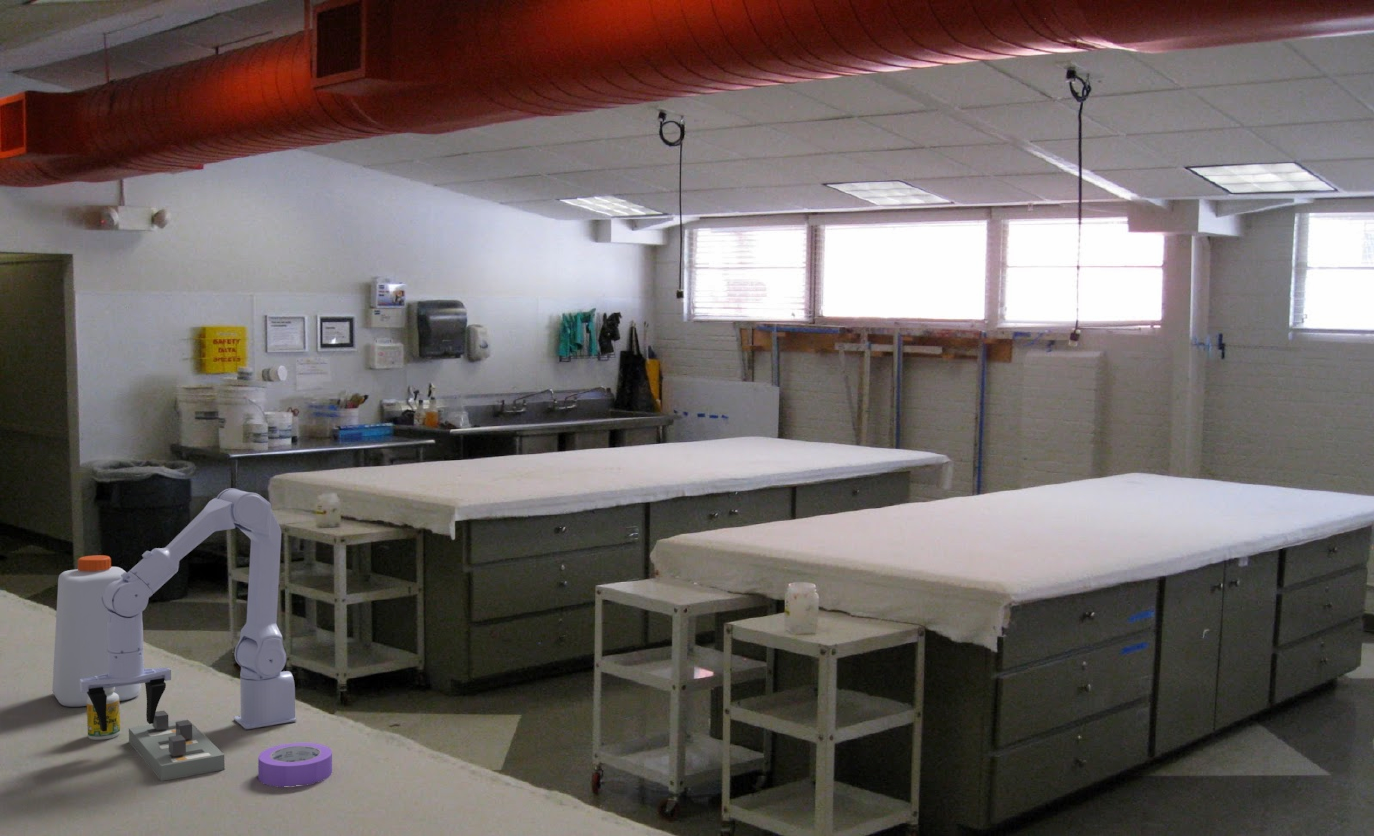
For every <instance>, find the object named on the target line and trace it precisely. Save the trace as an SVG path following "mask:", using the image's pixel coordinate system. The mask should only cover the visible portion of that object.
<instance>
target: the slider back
mask: <svg viewBox="0 0 1374 836" xmlns="http://www.w3.org/2000/svg"><path fill="white" fill-rule="evenodd" d="M168 722H169V714H168V713H167V711H165V710H158V711H157V710H156V712H155V717H154V723H153V727H154V728H155V729H156V730H162V729H169V726H168Z"/></svg>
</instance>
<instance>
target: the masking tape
mask: <svg viewBox="0 0 1374 836" xmlns="http://www.w3.org/2000/svg"><path fill="white" fill-rule="evenodd" d="M257 759H258V765H257V767H258V769H257V770H258V774H257V775H258V776H257V777H258V778H257V779H258V781H259V782H260V783H261V782H262V783H261V784H263V783H264V784H263V785H265V784H266V786H268V785H271V786H270V787H273V786H278V787H277V788H285V787H284V786H296V785H305V786H309V784H310V785H314V784H316V783H315V782H317V783H319V782H318V781H320V782H322V781H324V780H323V779H325V780H327V779H328V778H329V777H330V776H332V774H331V773H333V750H332V749H331V748H330V747H329V746H327V745H324V744H321V743H315V742H291V743H283V744H277V745H275V746H272V747H269V748H267V749H264V750H263V751H261V752H260V753H259V755H258V757H257ZM321 780H322V781H321ZM313 783H314V784H313ZM307 784H308V785H307Z"/></svg>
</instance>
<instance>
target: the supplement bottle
mask: <svg viewBox="0 0 1374 836" xmlns="http://www.w3.org/2000/svg"><path fill="white" fill-rule="evenodd" d="M103 690H104V691H105V694H106V695H107V700H106V719H107V731H102V730H101V729H100V723H99V719H98V716H97V713H96V710H95V708H94V705H93V703H92V701H91V699H90V697H88V699H87V706H86V718H87V721H86V722H87V737H88V738H89V739H90V740H92V741H93V740H94V741H105V740H110V739H113V738H116V737H118V736H119V735H120V734H121V711H120V710H121V709H120V701H119V696H118V694H116V693H114V692H113V691H114V690H115V687H112V688H105V689H103Z"/></svg>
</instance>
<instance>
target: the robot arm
mask: <svg viewBox="0 0 1374 836" xmlns="http://www.w3.org/2000/svg"><path fill="white" fill-rule="evenodd" d="M236 528H238V529H239V530H240V531H241V532H242V533H243V534H245V536H246V537H248V538H249V540H250V553H249V569H248V571H249V572H248V587H247V588H248V589H247V590H248V591H247V605H246V606H247V608H246V622H245V624H244V625H243V627H242V628H241V629H240V635H239V640H238V643H236V646H235V648H234V659H235V662H236V663H237V664H238V665H239V666H240V674H239V675H240V676H239V679H240V680H239V681H240V683H239V685H240V687H239V688H240V689H239V690H240V715H235V716H234V717H233V720H235V722H237V724H239V725H240V726H241V727H243V728H244V729H245V730H250V729H257V728H263V727H268V726H274V725H280V724H287V723H292V722H293V723H294V722H296V721H297V718H296V687H295V680H294V679H295V678H294V676H293V673H292V672H291V671H289V670H286V671H285V670H284V668H285V665H286V662H287V654H286V650H285V649H284V648H285V647H284V645H283V635H282V633H281V631H280V629H279V627H278V624H277V620H278V619H277V617H278V601H279V583H280V567H281V566H280V565H281V546H282V528H281V527H280V525H279V523H278V520H277V519H276V517H275V514H274V512H273V510H272V503H270V502H269V501H268V500H267V499H266V498H264V497H263V496H261V494H258V493H256V492H249V491H244V490H240V489H239V488H235V487H234V488H231V487H230V488H226V489H224V490H222V491H221V492H219V494H218V495H217V496H216V497H214V498H213V499H211V500H209V501H208V502H207V504H206V505H205V506H204V508H203V509H202V510H201V511H200V512H199V513H198V514H197V515H196V516H195V517H194V518H193V519H192V520H191V521H190V522H189V523H188V524H187V526H185V527H184V528H183V529H182V530H180V533H178V534H177V535H176V536H175V537H174V538H173V539H172V541H170V542H169V544H167V545H166V546H165V547H162V548H160V547H158V548H157V547H155V548H153V549H152V550H151V551H149V550H146V551H144V552H143V554H141V556H142V559H140V560H139V561H138V563H137V564H135V565H134V566H133V567H132V568H131V569H129V571H126V572H124V573H123V574H122V575H121V577H122V579H123V580H118V581H113V582H112V583H110V584H109V585H108V586H107V587H106V588H105V590H104V591H105V593H103V596H102V597H101V602H102V604H103V606H104V607H105V608H106V609H107V650H108V674H104V675H99V676H95V677H90V678H85V679H80V691H81V692H82V693H84V692H87V694H88V696H89V697H90V699H91V701H92V703H93V705H94V708H95V710H96V713H97V716H98V719H99V723H100V729H101V730H102V731H107V719H106V700H107V695H106V694H105V691H104V690H103V689H105V688H112V687H119V686H126V685H133V684H140V683H141V684H145V685H144V686H145V694H146V695H145V696H146V714H145V715H146V722H147V723H148V725H151V724H153V723H154V717H155V712H157V708H158V705H159V702H160V700H161V698H162V696H163V694H164V692H165V691H166V688H167V687H166V686H167V683H166V682H167V681H172V669H171V668H170V667H166V666H165V667H159V668H158V667H156V668H144V665H145V664H144V663H145V662H144V623H143V611H145V610H146V608H147V606H148V604H149V598H151V597H152V596H153V594H155V593H156V592H157V591H158V590H159V589H161V588H162V586H164V584H166V583H167V582H168V581H169V580H170V579H171V578H172V577H173V576H175V574H177V573H178V571H179V568H180V561H181V560H182V559H183V558H184V557H185V556H187V555H188V554H190V552H192V551H193V550H194V549H196V547H197V546H199V545H200V544H202V543H203V542H204V541H205V540H206V539H207V538H208V537H210V536H211V535H212V534H213V533H215V532H219V531H226V530H227V531H228V530H233V529H236ZM282 670H283V671H282Z"/></svg>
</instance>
